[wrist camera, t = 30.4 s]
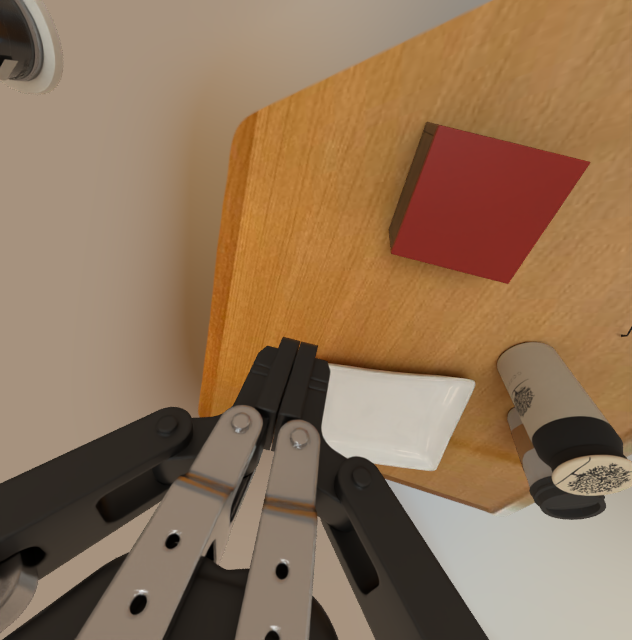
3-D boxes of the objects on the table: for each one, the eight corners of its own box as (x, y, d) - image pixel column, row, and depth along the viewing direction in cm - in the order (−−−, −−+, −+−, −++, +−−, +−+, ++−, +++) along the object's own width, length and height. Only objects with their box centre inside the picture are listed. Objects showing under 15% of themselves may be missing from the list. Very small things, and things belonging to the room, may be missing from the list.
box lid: (585, 160, 25) (591, 162, 24) (505, 280, 32) (508, 284, 31) (437, 124, 25) (439, 125, 24) (390, 251, 32) (390, 253, 31)
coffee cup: (561, 421, 51) (618, 517, 39) (509, 433, 55) (547, 524, 43) (545, 392, 48) (602, 486, 36) (492, 407, 52) (527, 497, 40)
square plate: (308, 439, 67) (305, 455, 64) (307, 347, 51) (302, 363, 48) (433, 457, 63) (435, 475, 60) (472, 365, 48) (479, 383, 44)
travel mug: (569, 351, 43) (667, 473, 29) (530, 385, 48) (597, 504, 33) (519, 333, 43) (593, 448, 28) (485, 369, 48) (533, 483, 33)
